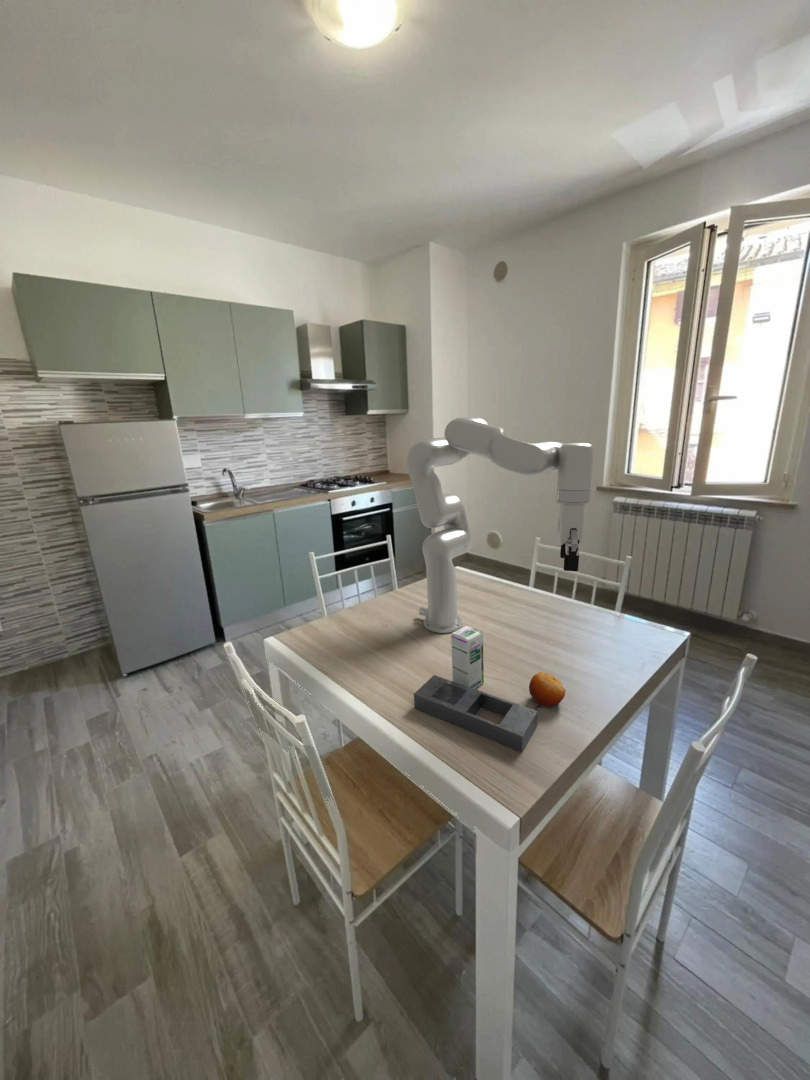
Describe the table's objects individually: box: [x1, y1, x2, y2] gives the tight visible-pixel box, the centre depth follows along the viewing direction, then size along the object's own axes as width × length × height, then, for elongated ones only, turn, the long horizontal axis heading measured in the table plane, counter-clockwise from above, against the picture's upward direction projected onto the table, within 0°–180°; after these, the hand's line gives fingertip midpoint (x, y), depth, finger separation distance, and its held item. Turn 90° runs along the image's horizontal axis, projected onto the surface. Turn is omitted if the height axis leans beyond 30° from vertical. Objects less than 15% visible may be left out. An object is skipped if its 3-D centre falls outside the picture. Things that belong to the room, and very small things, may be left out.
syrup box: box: [450, 625, 485, 689], centre depth 106 cm, size 6×6×14 cm
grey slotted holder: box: [413, 674, 539, 754], centre depth 95 cm, size 26×9×4 cm, turn 55°
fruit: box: [528, 671, 566, 709], centre depth 99 cm, size 8×8×8 cm
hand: (568, 564), depth 106 cm, fingers open, 9 cm apart
